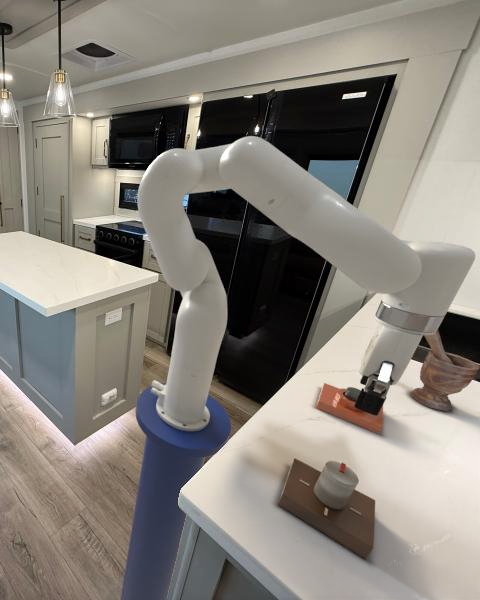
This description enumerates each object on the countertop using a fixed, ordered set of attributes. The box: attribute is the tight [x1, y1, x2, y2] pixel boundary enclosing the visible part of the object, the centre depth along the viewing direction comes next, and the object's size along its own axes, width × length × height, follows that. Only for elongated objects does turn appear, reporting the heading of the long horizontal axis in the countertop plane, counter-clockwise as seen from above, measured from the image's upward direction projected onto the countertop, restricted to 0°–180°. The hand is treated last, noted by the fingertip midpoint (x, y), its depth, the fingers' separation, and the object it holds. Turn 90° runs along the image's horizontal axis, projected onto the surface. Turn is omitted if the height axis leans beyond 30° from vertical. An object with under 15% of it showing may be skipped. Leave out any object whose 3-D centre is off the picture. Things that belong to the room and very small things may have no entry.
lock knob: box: [314, 460, 360, 509], centre depth 52 cm, size 4×4×6 cm
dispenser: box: [315, 382, 384, 435], centre depth 77 cm, size 12×10×4 cm
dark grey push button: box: [344, 386, 362, 402], centre depth 76 cm, size 4×4×2 cm
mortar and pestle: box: [410, 328, 480, 412], centre depth 79 cm, size 12×9×20 cm
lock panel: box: [277, 457, 376, 560], centre depth 54 cm, size 12×10×3 cm
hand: (367, 398), depth 58 cm, fingers open, 9 cm apart
